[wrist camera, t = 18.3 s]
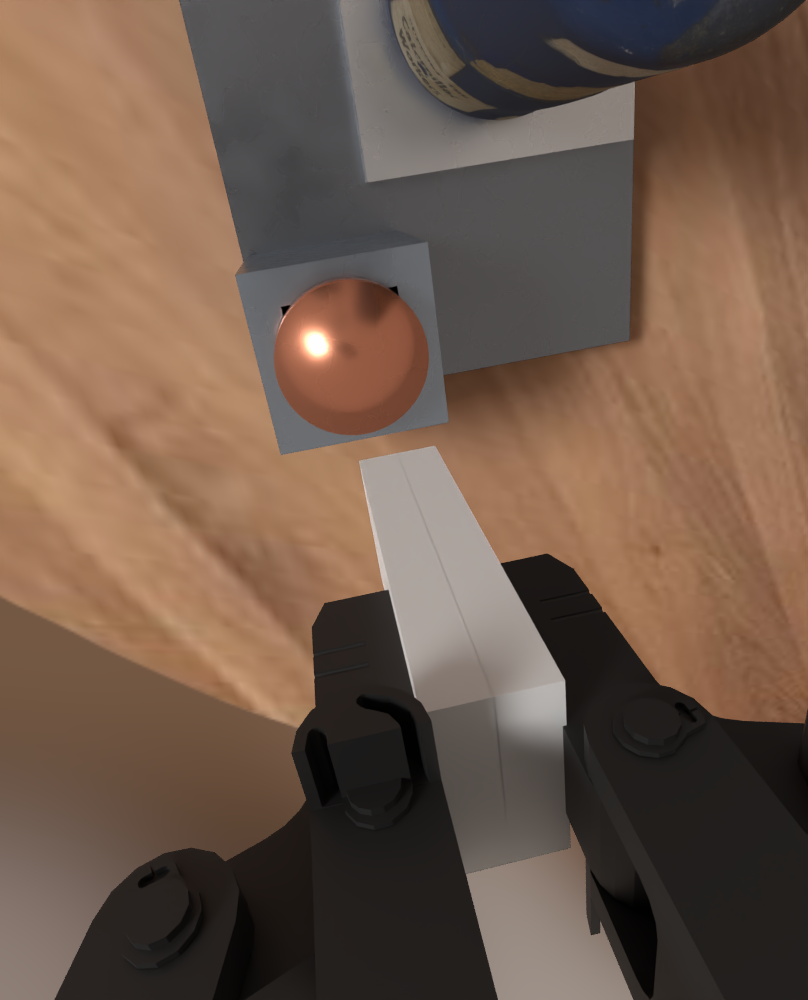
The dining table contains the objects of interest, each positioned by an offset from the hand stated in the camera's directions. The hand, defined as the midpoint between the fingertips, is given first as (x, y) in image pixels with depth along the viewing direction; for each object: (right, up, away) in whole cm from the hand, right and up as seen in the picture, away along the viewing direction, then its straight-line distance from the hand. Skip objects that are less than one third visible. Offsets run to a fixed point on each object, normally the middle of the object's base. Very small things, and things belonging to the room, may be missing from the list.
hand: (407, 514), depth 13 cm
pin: (-3, +9, +19) cm, 22 cm away
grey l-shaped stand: (+1, +18, +19) cm, 26 cm away
